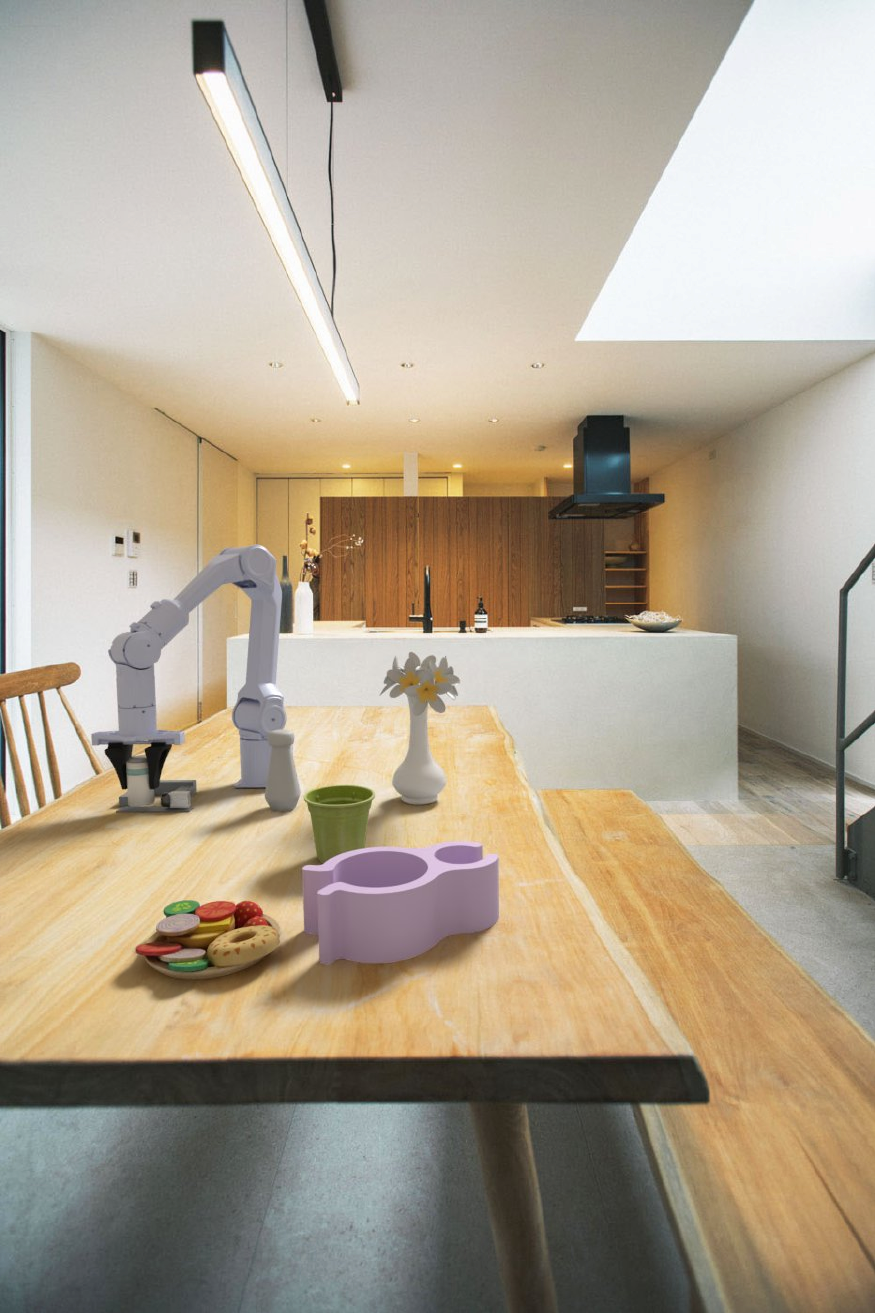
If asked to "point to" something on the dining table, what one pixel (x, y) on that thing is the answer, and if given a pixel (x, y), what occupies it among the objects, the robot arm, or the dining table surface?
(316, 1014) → the dining table surface
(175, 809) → the housing
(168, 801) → the latch pin
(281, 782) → the salt shaker
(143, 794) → the white cylinder
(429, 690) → the flower vase
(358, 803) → the plant pot
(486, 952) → the dining table surface
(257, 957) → the toy food set
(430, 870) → the clip
